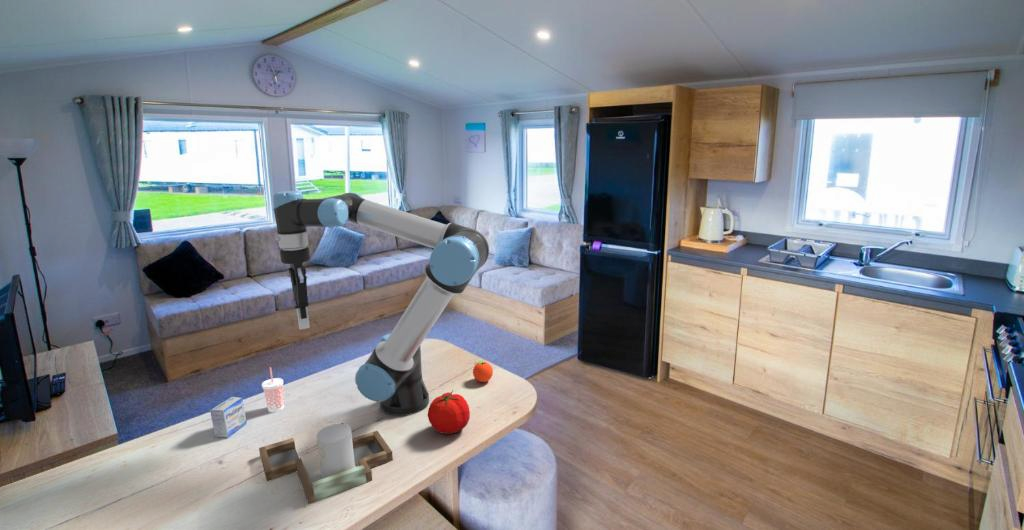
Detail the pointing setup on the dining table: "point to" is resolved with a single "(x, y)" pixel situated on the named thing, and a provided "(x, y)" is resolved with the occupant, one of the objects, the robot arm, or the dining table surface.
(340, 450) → the gray cylinder
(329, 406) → the dining table surface
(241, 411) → the medicine box
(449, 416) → the tomato
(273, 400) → the beverage cup
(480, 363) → the clementine
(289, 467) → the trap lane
